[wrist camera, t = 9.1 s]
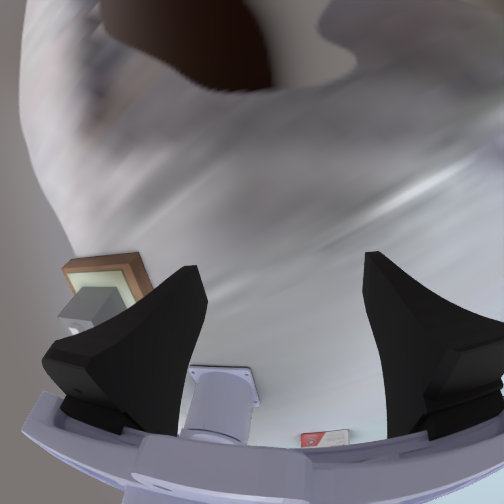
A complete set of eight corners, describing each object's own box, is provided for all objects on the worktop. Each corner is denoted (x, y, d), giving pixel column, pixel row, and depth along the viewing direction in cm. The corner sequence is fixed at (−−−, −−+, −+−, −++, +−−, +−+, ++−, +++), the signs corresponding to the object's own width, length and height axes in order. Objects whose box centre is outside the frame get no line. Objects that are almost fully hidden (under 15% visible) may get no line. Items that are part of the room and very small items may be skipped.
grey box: (116, 286, 24) (87, 325, 20) (145, 343, 28) (126, 382, 23) (82, 286, 25) (53, 320, 20) (112, 340, 29) (92, 374, 24)
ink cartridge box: (303, 441, 43) (299, 508, 31) (301, 433, 41) (296, 506, 28) (348, 437, 41) (349, 505, 29) (349, 428, 39) (351, 502, 26)
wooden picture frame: (179, 346, 31) (173, 361, 29) (115, 341, 33) (108, 353, 31) (138, 252, 25) (127, 265, 23) (71, 259, 27) (59, 270, 25)
